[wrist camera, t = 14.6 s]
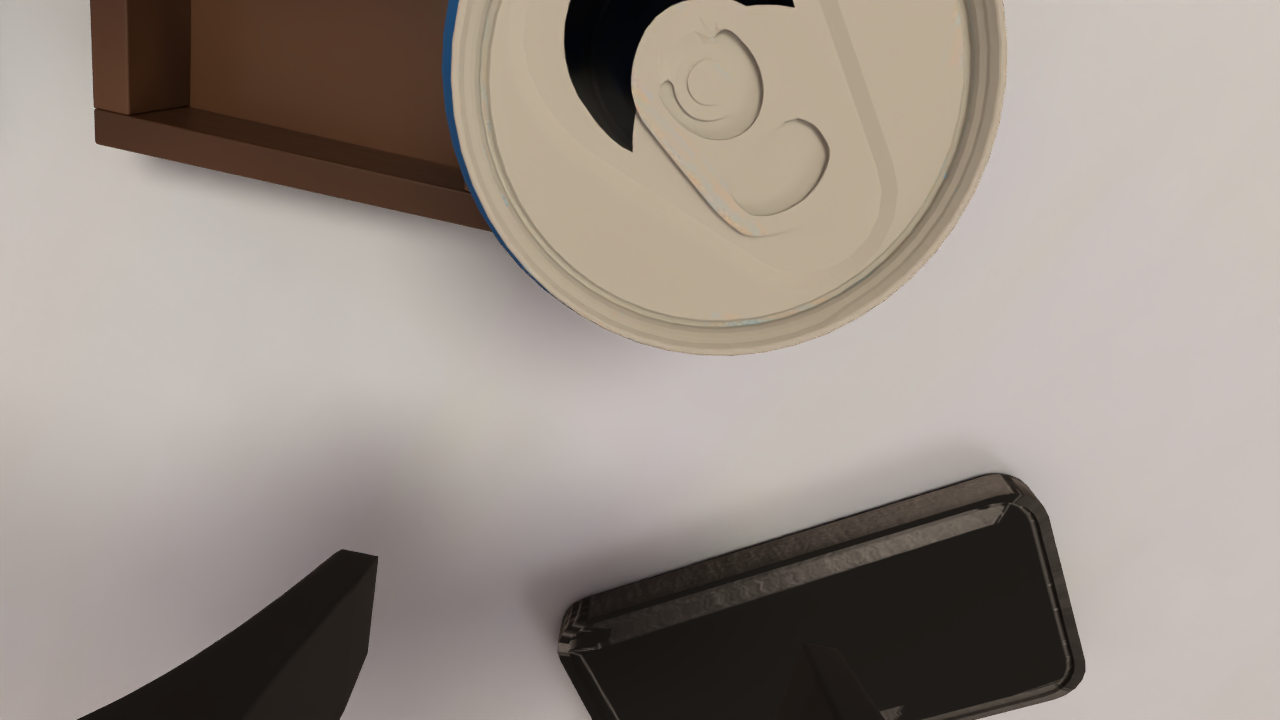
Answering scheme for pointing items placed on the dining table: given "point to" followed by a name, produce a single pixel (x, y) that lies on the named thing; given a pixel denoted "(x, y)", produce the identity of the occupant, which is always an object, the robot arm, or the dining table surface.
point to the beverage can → (723, 153)
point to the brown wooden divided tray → (286, 95)
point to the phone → (846, 617)
